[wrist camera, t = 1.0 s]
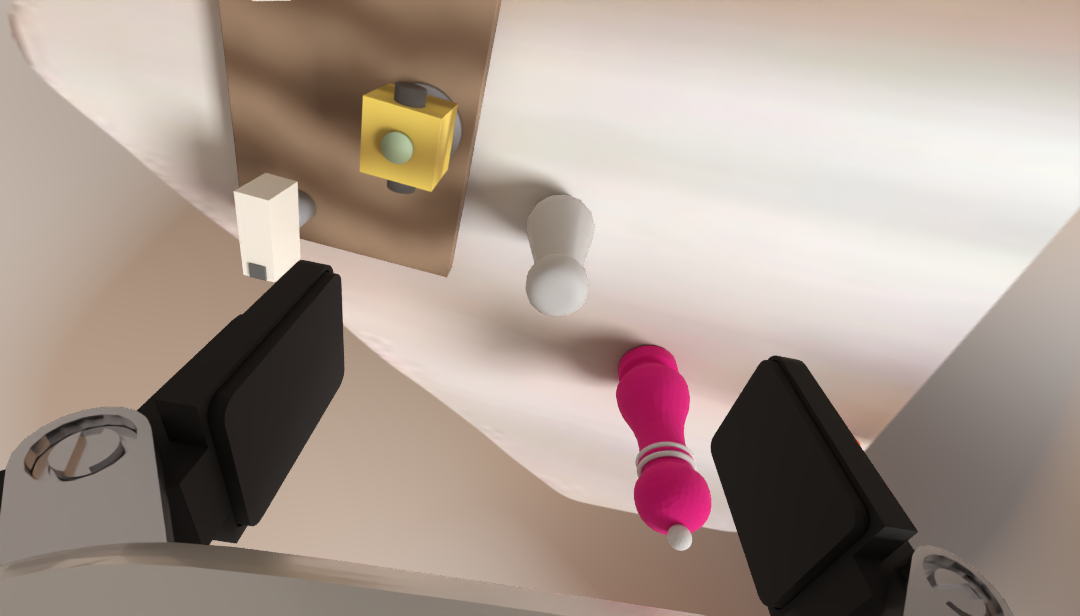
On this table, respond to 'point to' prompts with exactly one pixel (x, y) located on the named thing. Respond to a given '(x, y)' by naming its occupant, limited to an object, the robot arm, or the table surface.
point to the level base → (326, 110)
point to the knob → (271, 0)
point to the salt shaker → (559, 254)
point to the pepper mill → (662, 445)
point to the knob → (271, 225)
